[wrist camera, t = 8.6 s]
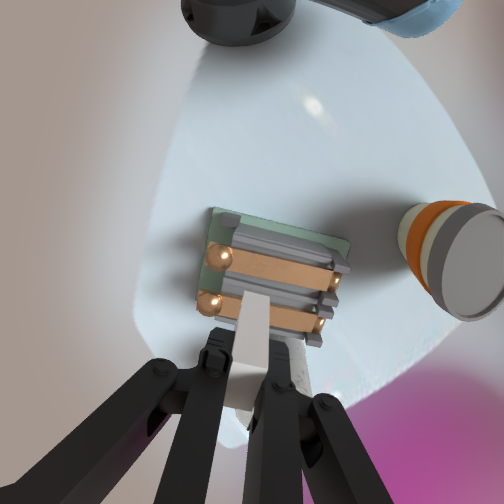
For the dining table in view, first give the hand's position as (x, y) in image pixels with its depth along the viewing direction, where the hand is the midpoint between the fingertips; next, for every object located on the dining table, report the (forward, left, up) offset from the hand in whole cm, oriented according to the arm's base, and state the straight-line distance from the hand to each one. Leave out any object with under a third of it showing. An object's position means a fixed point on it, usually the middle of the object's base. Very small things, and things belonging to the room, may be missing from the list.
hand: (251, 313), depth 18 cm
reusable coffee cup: (-6, +23, -22) cm, 32 cm away
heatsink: (+5, +3, -22) cm, 23 cm away
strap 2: (+8, +2, -16) cm, 18 cm away
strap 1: (+2, +2, -16) cm, 16 cm away
